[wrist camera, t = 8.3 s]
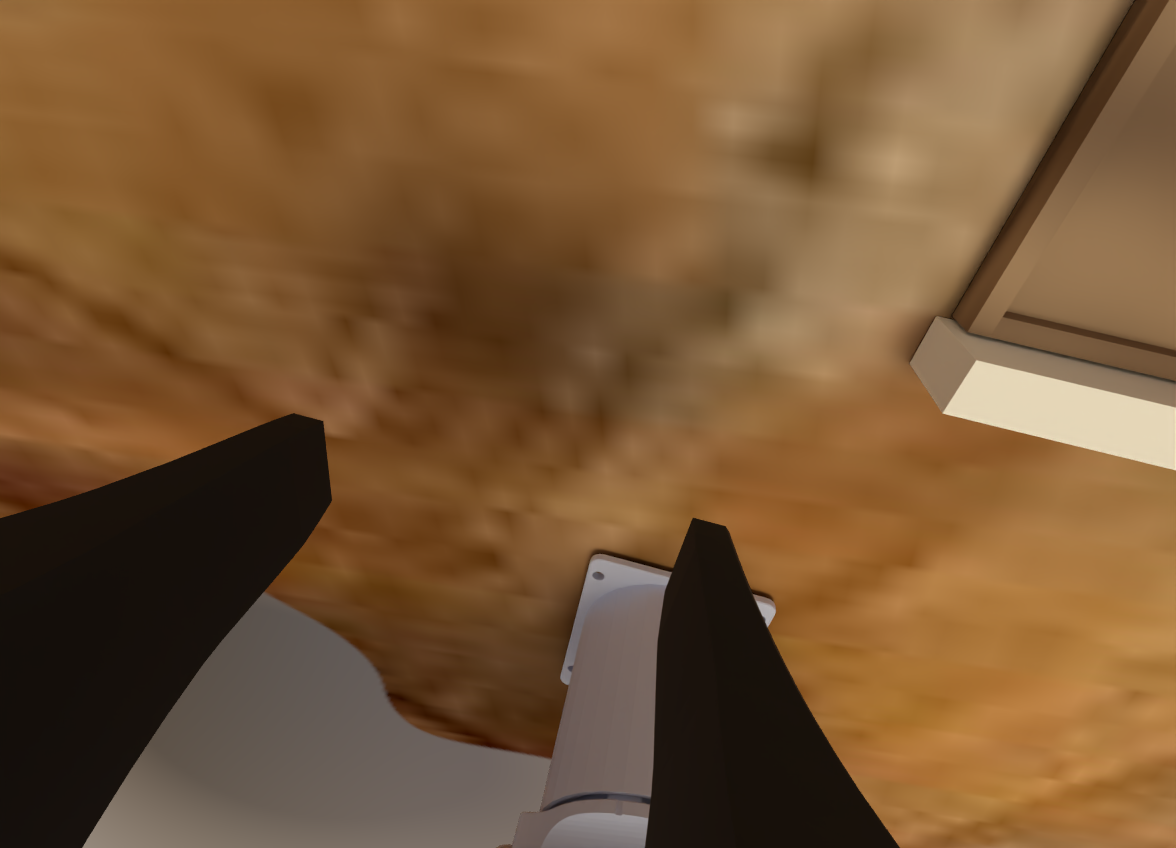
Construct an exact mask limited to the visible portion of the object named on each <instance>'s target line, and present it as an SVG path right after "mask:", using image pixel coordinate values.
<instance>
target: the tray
mask: <svg viewBox="0 0 1176 848" xmlns="http://www.w3.org/2000/svg"><path fill="white" fill-rule="evenodd" d="M952 317H953V318H954V319H955V320H956V321H957V322H958V323H959V324H960V325H961V326H962V327H963V328H964V329H965V330H966V331H967V332H969V333H974V334H978V335H982V336H986V337H991V338H995V339H999V340H1003V341H1008V342H1012V343H1016V344H1020V345H1025V346H1029V347H1033V348H1037V349H1042V350H1046V351H1050V352H1055V353H1059V354H1063V355H1067V356H1072V357H1076V358H1080V359H1084V360H1089V361H1093V362H1097V363H1101V364H1106V365H1110V366H1114V367H1118V368H1123V369H1127V370H1131V371H1135V372H1140V373H1144V374H1148V375H1153V376H1157V377H1161V378H1165V379H1170V380H1174V381H1176V0H1135V1H1134V3H1133V5H1132V7H1131V8H1130V10H1129V12H1128V14H1127V15H1126V17H1125V19H1124V20H1123V22H1122V24H1121V26H1120V27H1119V29H1118V31H1117V32H1116V34H1115V36H1114V38H1113V39H1112V41H1111V43H1110V45H1109V46H1108V48H1107V50H1106V51H1105V53H1104V55H1103V57H1102V58H1101V60H1100V62H1099V63H1098V65H1097V67H1096V69H1095V70H1094V72H1093V74H1092V76H1091V77H1090V79H1089V81H1088V82H1087V84H1086V86H1085V88H1084V89H1083V91H1082V93H1081V94H1080V96H1079V98H1078V100H1077V101H1076V103H1075V105H1074V106H1073V108H1072V110H1071V112H1070V113H1069V115H1068V117H1067V119H1066V120H1065V122H1064V124H1063V125H1062V127H1061V129H1060V131H1059V132H1058V134H1057V136H1056V137H1055V139H1054V141H1053V143H1052V144H1051V146H1050V148H1049V150H1048V151H1047V153H1046V155H1045V156H1044V158H1043V160H1042V162H1041V163H1040V165H1039V167H1038V168H1037V170H1036V172H1035V174H1034V175H1033V177H1032V179H1031V181H1030V182H1029V184H1028V186H1027V187H1026V189H1025V191H1024V193H1023V194H1022V196H1021V198H1020V199H1019V201H1018V203H1017V205H1016V206H1015V208H1014V210H1013V212H1012V213H1011V215H1010V217H1009V218H1008V220H1007V222H1006V224H1005V225H1004V227H1003V229H1002V230H1001V232H1000V234H999V236H998V237H997V239H996V241H995V243H994V244H993V246H992V248H991V249H990V251H989V253H988V255H987V256H986V258H985V260H984V261H983V263H982V265H981V267H980V268H979V270H978V272H977V274H976V275H975V277H974V279H973V280H972V282H971V284H970V286H969V287H968V289H967V291H966V292H965V294H964V296H963V298H962V299H961V301H960V303H959V305H958V306H957V308H956V310H955V311H954V313H953V315H952Z"/></svg>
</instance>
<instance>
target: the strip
mask: <svg viewBox="0 0 1176 848" xmlns="http://www.w3.org/2000/svg"><path fill="white" fill-rule="evenodd" d="M909 364H910V365H911V367H912V368H913V370H914V371H915V373H916V374H917V376H918V377H919V379H920V380H921V382H922V383H923V385H924V386H925V388H926V389H927V391H928V392H929V394H930V395H931V397H932V398H933V400H934V401H935V403H936V404H937V406H938V407H939V409H940V410H941V412H942V413H943V414H947V415H951V416H956V417H960V418H964V419H968V420H972V421H976V422H980V423H984V424H988V425H992V426H997V427H1001V428H1005V429H1009V430H1013V431H1017V432H1021V433H1025V434H1029V435H1033V436H1038V437H1042V438H1046V439H1050V440H1054V441H1058V442H1062V443H1066V444H1070V445H1074V446H1079V447H1083V448H1087V449H1091V450H1095V451H1099V452H1103V453H1107V454H1111V455H1115V456H1120V457H1124V458H1128V459H1132V460H1136V461H1140V462H1144V463H1148V464H1152V465H1157V466H1161V467H1165V468H1169V469H1173V470H1176V381H1174V380H1170V379H1165V378H1161V377H1157V376H1153V375H1148V374H1144V373H1140V372H1135V371H1131V370H1127V369H1123V368H1118V367H1114V366H1110V365H1106V364H1101V363H1097V362H1093V361H1089V360H1084V359H1080V358H1076V357H1072V356H1067V355H1063V354H1059V353H1055V352H1050V351H1046V350H1042V349H1037V348H1033V347H1029V346H1025V345H1020V344H1016V343H1012V342H1008V341H1003V340H999V339H995V338H991V337H986V336H982V335H978V334H974V333H969V332H967V331H966V330H965V329H964V328H963V327H962V326H961V325H960V324H959V323H958V322H957V321H956V320H952V319H948V318H943V317H939V316H936V317H935V319H934V321H933V323H932V324H931V326H930V328H929V330H928V332H927V333H926V335H925V337H924V339H923V340H922V342H921V344H920V346H919V347H918V349H917V351H916V353H915V355H914V356H913V358H912V360H911V362H910V363H909Z"/></svg>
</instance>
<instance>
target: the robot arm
mask: <svg viewBox="0 0 1176 848" xmlns="http://www.w3.org/2000/svg"><path fill="white" fill-rule="evenodd" d="M331 501H332V497H331V488H330V479H329V470H328V461H327V452H326V442H325V433H324V424H323V421H321V420H317V419H313V418H309V417H305V416H302V415H298V414H294V413H293V414H290V415H287V416H284V417H281V418H278V419H276V420H273V421H270V422H268V423H265V424H263V425H260V426H258V427H255V428H253V429H250V430H248V431H245V432H243V433H240V434H238V435H235V436H233V437H230V438H228V439H226V440H223V441H221V442H218V443H216V444H213V445H211V446H208V447H206V448H203V449H201V450H198V451H196V452H193V453H191V454H188V455H186V456H183V457H181V458H178V459H176V460H173V461H171V462H168V463H166V464H163V465H160V466H157V467H155V468H152V469H149V470H146V471H144V472H141V473H138V474H136V475H133V476H130V477H127V478H125V479H122V480H119V481H116V482H114V483H111V484H108V485H105V486H103V487H100V488H97V489H94V490H91V491H88V492H85V493H82V494H79V495H76V496H73V497H70V498H67V499H64V500H60V501H57V502H54V503H51V504H47V505H44V506H41V507H37V508H34V509H31V510H27V511H24V512H20V513H17V514H14V515H10V516H7V517H3V518H0V848H82V847H83V845H84V844H85V842H86V840H87V838H88V837H89V835H90V834H91V832H92V831H93V829H94V827H95V826H96V824H97V822H98V821H99V819H100V818H101V816H102V815H103V813H104V811H105V810H106V808H107V807H108V805H109V803H110V802H111V800H112V799H113V797H114V795H115V794H116V792H117V791H118V789H119V787H120V786H121V784H122V783H123V781H124V779H125V778H126V776H127V775H128V773H129V771H130V770H131V768H132V767H133V765H134V764H135V762H136V761H137V759H138V758H139V756H140V755H141V753H142V752H143V750H144V749H145V747H146V746H147V744H148V743H149V741H150V740H151V738H152V737H153V735H154V734H155V732H156V731H157V729H158V728H159V726H160V725H161V723H162V722H163V720H164V719H165V717H166V716H167V714H168V713H169V712H170V710H171V709H172V707H173V706H174V705H175V703H176V702H177V700H178V699H179V698H180V696H181V695H182V693H183V692H184V690H185V689H186V688H187V686H188V685H189V683H190V682H191V681H192V679H193V678H194V676H195V675H196V673H197V672H198V671H199V669H200V668H201V666H202V665H203V664H204V662H205V661H206V660H207V659H208V657H209V656H210V655H211V654H212V652H213V651H214V650H215V649H216V647H217V646H218V645H219V643H220V642H221V641H222V640H223V639H224V637H225V636H226V635H227V634H228V633H229V631H230V630H231V629H232V628H233V627H234V626H235V625H236V623H237V622H238V621H239V620H240V619H241V617H243V615H244V614H245V613H246V612H247V611H248V609H249V608H250V607H251V606H252V605H253V604H254V603H255V601H256V600H257V599H258V598H259V597H260V596H261V594H262V593H263V592H264V591H265V590H266V589H267V587H268V586H269V585H270V584H271V583H272V582H273V580H274V579H275V578H276V577H277V576H278V575H279V573H280V572H281V571H282V570H283V569H284V567H285V566H286V565H287V564H288V563H289V562H290V560H291V559H292V558H293V557H294V556H295V554H296V553H297V552H298V551H299V550H300V548H301V547H302V546H303V545H304V543H305V542H306V540H307V539H308V537H309V536H310V534H311V533H312V531H313V530H314V528H315V527H316V525H317V524H318V522H319V521H320V519H321V517H322V516H323V514H324V513H325V511H326V509H327V508H328V506H329V505H330V503H331ZM597 572H601V573H602V574H601V573H597ZM775 613H776V609H775V604H774V602H773V601H772V600H770V599H768V598H765V597H762V596H758V595H754V594H753V593H752V591H751V589H750V586H749V584H748V581H747V579H746V576H745V574H744V571H743V569H742V566H741V563H740V561H739V558H738V555H737V553H736V550H735V547H734V544H733V542H732V539H731V536H730V533H729V531H728V529H727V528H726V526H722V525H719V524H715V523H711V522H707V521H703V520H699V519H696V518H693V519H692V521H691V524H690V526H689V529H688V532H687V534H686V537H685V539H684V542H683V545H682V547H681V550H680V552H679V555H678V558H677V560H676V563H675V565H674V568H673V571H672V572H668V571H665V570H661V569H657V568H653V567H650V566H646V565H642V564H638V563H635V562H631V561H627V560H624V559H620V558H616V557H612V556H609V555H605V554H596V555H594V556H592V558H591V560H590V564H589V567H588V571H587V575H586V579H585V583H584V587H583V591H582V594H581V598H580V602H579V606H578V610H577V614H576V618H575V622H574V625H573V629H572V633H571V637H570V641H569V645H568V649H567V652H566V656H565V660H564V664H563V668H562V672H561V676H560V679H561V681H562V682H563V683H564V684H566V685H569V687H568V691H567V696H566V700H565V704H564V708H563V713H562V717H561V721H560V726H559V730H558V734H557V739H556V743H555V747H554V751H553V756H552V760H551V765H550V769H549V773H548V777H547V781H546V786H545V790H544V794H543V799H542V803H541V807H540V812H522V813H521V814H520V817H519V821H518V825H517V829H516V832H515V836H514V840H513V844H512V845H510V844H508V845H500V846H498V847H497V848H900V847H899V846H898V844H897V843H896V842H895V840H894V839H893V837H892V836H891V835H890V833H889V832H888V830H887V829H886V827H885V826H884V825H883V823H882V822H881V820H880V819H879V818H878V816H877V815H876V813H875V812H874V810H873V809H872V808H871V806H870V805H869V803H868V802H867V801H866V799H865V798H864V796H863V795H862V794H861V792H860V791H859V789H858V788H857V786H856V784H855V783H854V781H853V780H852V778H851V777H850V775H849V774H848V772H847V770H846V769H845V767H844V766H843V764H842V763H841V761H840V759H839V758H838V756H837V755H836V753H835V752H834V750H833V748H832V747H831V745H830V743H829V742H828V740H827V738H826V737H825V735H824V733H823V732H822V730H821V728H820V727H819V725H818V723H817V722H816V720H815V718H814V717H813V715H812V713H811V711H810V710H809V708H808V706H807V704H806V702H805V701H804V699H803V697H802V695H801V693H800V691H799V690H798V688H797V686H796V684H795V682H794V680H793V678H792V676H791V674H790V672H789V670H788V669H787V667H786V665H785V663H784V661H783V659H782V657H781V655H780V653H779V651H778V649H777V647H776V645H775V642H774V640H773V638H772V636H771V634H770V632H769V630H768V626H769V624H770V622H771V621H772V619H773V617H774V615H775Z"/></svg>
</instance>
